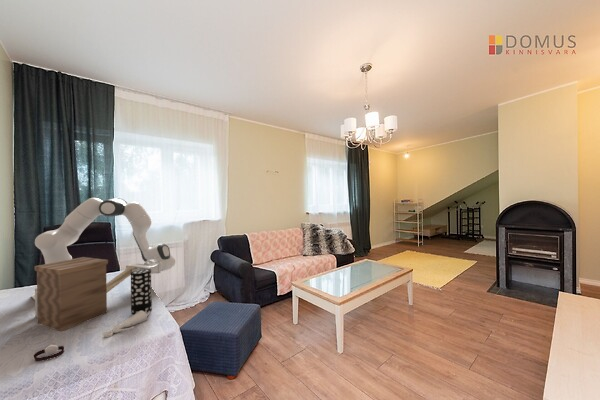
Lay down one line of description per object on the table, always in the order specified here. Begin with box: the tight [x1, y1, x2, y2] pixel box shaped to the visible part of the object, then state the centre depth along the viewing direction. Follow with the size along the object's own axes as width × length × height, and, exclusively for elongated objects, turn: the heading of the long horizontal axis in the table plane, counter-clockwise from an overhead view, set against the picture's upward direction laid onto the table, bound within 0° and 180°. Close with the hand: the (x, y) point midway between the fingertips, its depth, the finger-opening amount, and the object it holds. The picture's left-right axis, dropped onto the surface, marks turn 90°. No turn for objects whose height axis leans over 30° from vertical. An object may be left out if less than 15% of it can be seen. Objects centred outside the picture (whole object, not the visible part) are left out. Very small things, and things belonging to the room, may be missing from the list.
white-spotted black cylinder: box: [130, 269, 153, 316], centre depth 114 cm, size 8×8×20 cm
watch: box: [33, 344, 65, 362], centre depth 82 cm, size 8×5×4 cm, turn 115°
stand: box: [34, 256, 109, 332], centre depth 109 cm, size 20×18×26 cm
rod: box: [106, 266, 136, 293], centre depth 129 cm, size 3×20×3 cm, turn 160°
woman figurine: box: [102, 310, 151, 338], centre depth 101 cm, size 12×4×18 cm
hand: (128, 271), depth 134 cm, fingers closed on rod, 3 cm apart
